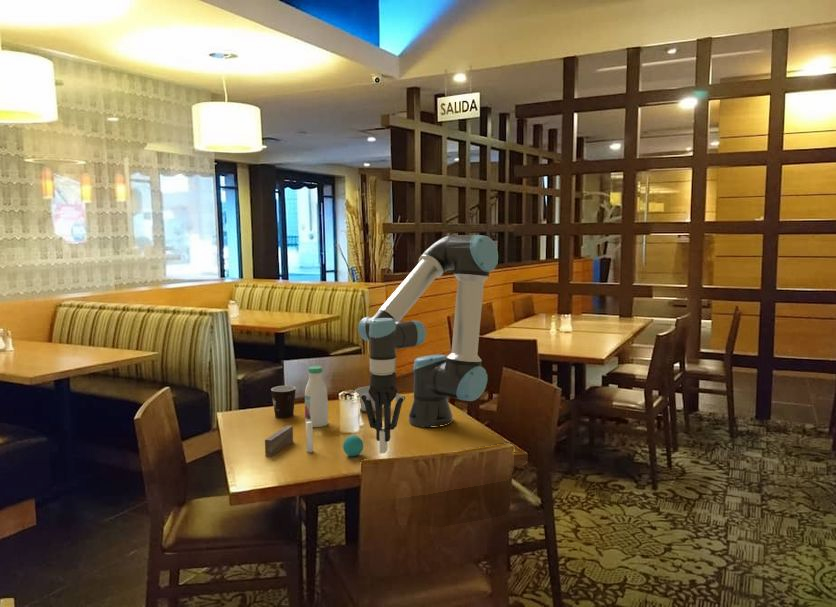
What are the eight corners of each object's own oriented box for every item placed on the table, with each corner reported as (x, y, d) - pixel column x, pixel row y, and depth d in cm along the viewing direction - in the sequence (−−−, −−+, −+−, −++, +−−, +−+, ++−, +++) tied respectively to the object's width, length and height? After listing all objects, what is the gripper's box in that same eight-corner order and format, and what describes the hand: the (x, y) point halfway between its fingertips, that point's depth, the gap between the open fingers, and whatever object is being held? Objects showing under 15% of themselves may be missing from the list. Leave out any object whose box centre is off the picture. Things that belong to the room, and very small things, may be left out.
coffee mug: (273, 412, 232) (272, 386, 231) (297, 412, 233) (296, 385, 231) (269, 422, 220) (268, 394, 219) (294, 421, 221) (293, 393, 220)
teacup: (372, 415, 228) (372, 393, 227) (349, 411, 234) (348, 389, 233) (394, 406, 240) (394, 385, 239) (371, 402, 245) (371, 382, 244)
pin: (314, 450, 192) (313, 421, 191) (311, 452, 190) (310, 423, 189) (308, 450, 193) (307, 421, 192) (305, 452, 191) (304, 423, 190)
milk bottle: (330, 421, 221) (329, 365, 219) (325, 428, 214) (323, 370, 211) (308, 420, 222) (307, 364, 220) (302, 427, 214) (301, 369, 212)
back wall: (293, 441, 201) (292, 426, 200) (271, 456, 187) (271, 440, 187) (287, 440, 201) (286, 425, 201) (265, 456, 188) (264, 439, 187)
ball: (366, 453, 190) (366, 433, 189) (359, 460, 184) (358, 440, 183) (347, 451, 192) (347, 431, 191) (340, 458, 186) (339, 438, 185)
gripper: (408, 370, 184) (408, 449, 187) (365, 368, 188) (366, 445, 190) (400, 376, 177) (401, 458, 180) (356, 373, 180) (357, 454, 183)
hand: (383, 451), depth 185 cm, fingers closed
